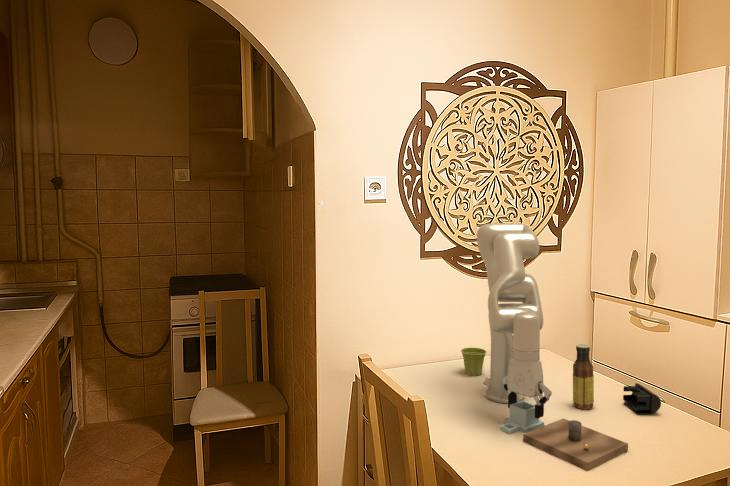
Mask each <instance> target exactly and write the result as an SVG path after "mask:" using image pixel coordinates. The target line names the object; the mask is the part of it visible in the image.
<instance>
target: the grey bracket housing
mask: <svg viewBox="0 0 730 486" xmlns="http://www.w3.org/2000/svg"><path fill="white" fill-rule="evenodd" d="M542 426H545V422H544V421H543V420H540V418H535V404H533V403H532V402H528V401H526V400H524V399H523V400H522V401H519V402H517V403H514V404H511V405H510V408H509V417H508V418H505V419H504V424H501V425H499V430H501V431H503V432H504V433H506V434H509V435H511V434H513V433H516V432H518V431H522V432H524V433H527V432H530V431H532V430H535V429H537V428H540V427H542Z"/></svg>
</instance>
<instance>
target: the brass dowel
mask: <svg viewBox="0 0 730 486" xmlns="http://www.w3.org/2000/svg"><path fill="white" fill-rule="evenodd" d="M584 450H585V451H588V450H589V444H587V443H584Z"/></svg>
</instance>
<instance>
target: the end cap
mask: <svg viewBox="0 0 730 486" xmlns="http://www.w3.org/2000/svg"><path fill="white" fill-rule="evenodd" d="M623 392H631V394H622V395H623V397H622V398H623V399H622V400H623V406H625V407H627V408H628V409H629V410H630V411H631V412H632V413H634V414H635V415H636V416H650V415H653V414H655V413H657V412H658V411H659V410H660V409H661V406H662V401H661V399H660V397H659V396H658V395H657V394H656V393H654V392H652V391H651V390H649V389H648V388H646V387H645V386H643V385H642V384H640V383H636V382H635V383H634V385H632V386H631V385H630V386H629V385H628V386H627V385H626V386H625V385H624V386H623Z"/></svg>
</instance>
